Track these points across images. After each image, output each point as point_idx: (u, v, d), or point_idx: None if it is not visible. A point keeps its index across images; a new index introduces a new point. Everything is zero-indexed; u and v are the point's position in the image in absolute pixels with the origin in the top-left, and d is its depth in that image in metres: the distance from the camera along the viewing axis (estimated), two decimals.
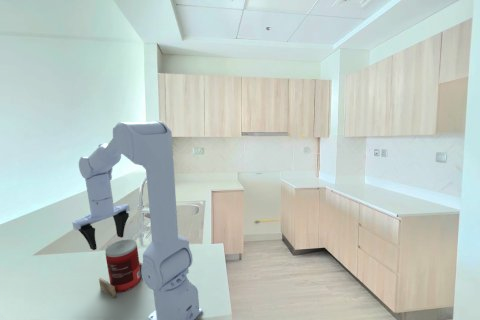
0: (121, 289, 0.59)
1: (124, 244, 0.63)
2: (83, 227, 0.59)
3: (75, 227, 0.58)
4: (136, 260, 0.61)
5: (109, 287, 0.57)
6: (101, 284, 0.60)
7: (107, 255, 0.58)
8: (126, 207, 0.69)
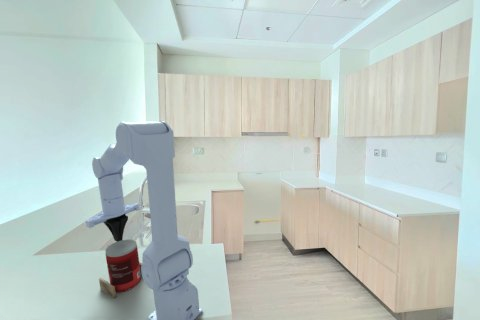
0: (121, 289, 0.59)
1: (124, 244, 0.63)
2: None
3: (88, 225, 0.60)
4: (136, 260, 0.61)
5: (109, 287, 0.57)
6: (101, 284, 0.60)
7: (107, 255, 0.58)
8: (136, 206, 0.71)
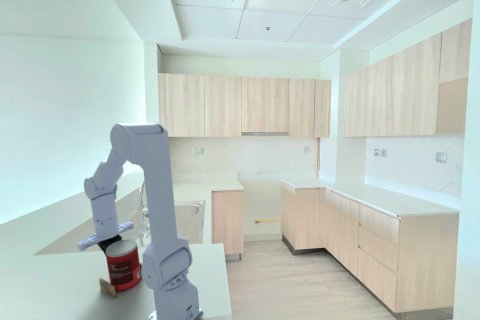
0: (121, 289, 0.59)
1: (124, 244, 0.62)
2: None
3: (80, 248, 0.58)
4: (136, 260, 0.61)
5: (109, 287, 0.57)
6: (101, 284, 0.60)
7: (107, 255, 0.58)
8: (130, 225, 0.69)
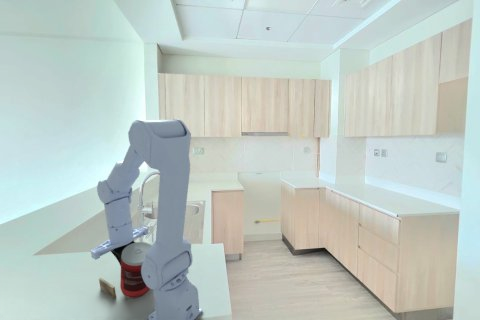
0: (132, 295, 0.56)
1: (141, 248, 0.58)
2: None
3: (94, 256, 0.54)
4: None
5: (109, 287, 0.57)
6: (101, 284, 0.60)
7: (123, 261, 0.54)
8: (145, 230, 0.65)
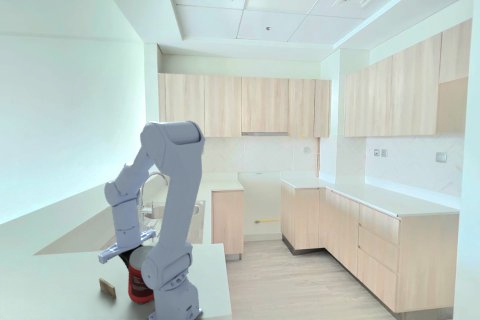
0: (140, 301, 0.54)
1: None
2: None
3: (101, 261, 0.52)
4: None
5: (109, 287, 0.57)
6: (101, 284, 0.60)
7: (132, 266, 0.52)
8: (153, 233, 0.63)
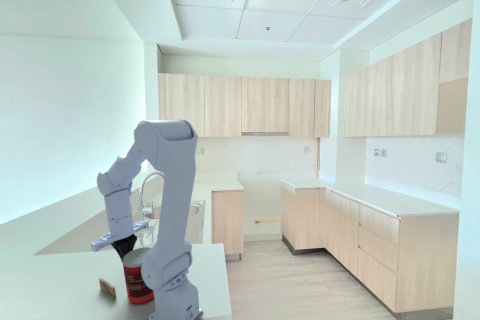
0: (139, 302, 0.54)
1: (142, 252, 0.58)
2: None
3: (94, 249, 0.53)
4: None
5: (109, 287, 0.57)
6: (101, 284, 0.60)
7: (125, 265, 0.53)
8: (145, 224, 0.64)
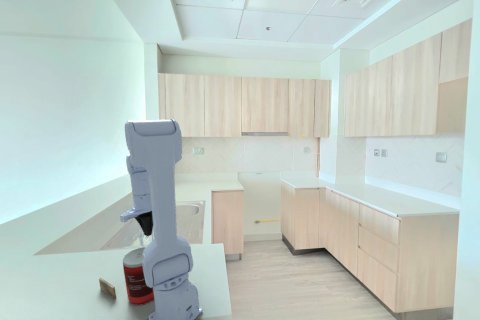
0: (139, 302, 0.54)
1: (142, 252, 0.58)
2: None
3: (123, 220, 0.63)
4: None
5: (109, 287, 0.57)
6: (101, 284, 0.60)
7: (125, 265, 0.53)
8: None
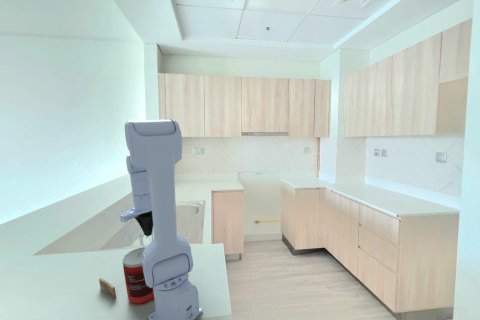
0: (139, 302, 0.54)
1: (142, 252, 0.58)
2: None
3: (123, 220, 0.63)
4: None
5: (109, 287, 0.57)
6: (101, 284, 0.60)
7: (125, 265, 0.53)
8: None
